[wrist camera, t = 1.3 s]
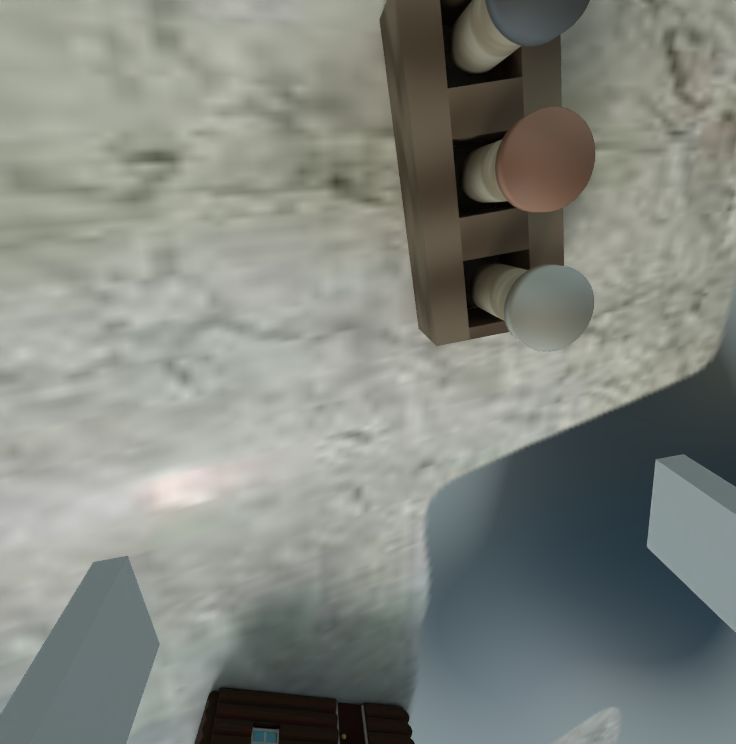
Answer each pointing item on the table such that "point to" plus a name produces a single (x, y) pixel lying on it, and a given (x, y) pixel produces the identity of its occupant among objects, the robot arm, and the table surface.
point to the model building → (298, 720)
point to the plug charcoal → (507, 29)
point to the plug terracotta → (533, 163)
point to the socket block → (436, 162)
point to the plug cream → (536, 302)
